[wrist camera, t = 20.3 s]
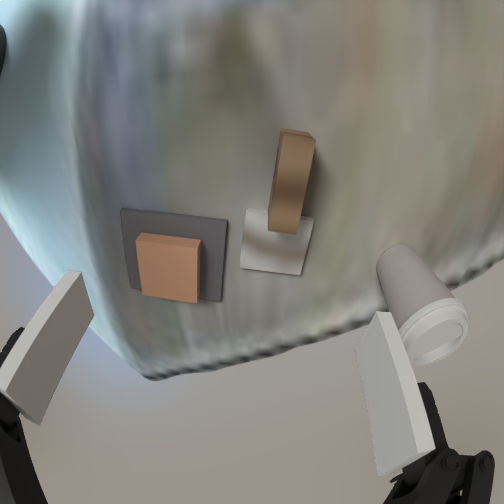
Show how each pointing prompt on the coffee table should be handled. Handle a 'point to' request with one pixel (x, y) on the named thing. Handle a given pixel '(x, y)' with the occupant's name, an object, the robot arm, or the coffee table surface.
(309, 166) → the tapered wooden block
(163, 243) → the tile
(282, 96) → the coffee table surface
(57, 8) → the coffee table surface
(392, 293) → the coffee cup
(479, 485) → the robot arm
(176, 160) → the coffee table surface
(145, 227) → the mat
